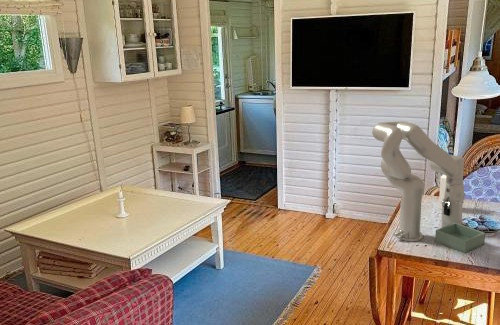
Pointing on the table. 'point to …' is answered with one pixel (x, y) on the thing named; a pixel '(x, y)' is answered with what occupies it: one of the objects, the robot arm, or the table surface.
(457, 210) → the skincare box
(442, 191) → the milk
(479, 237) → the tote
